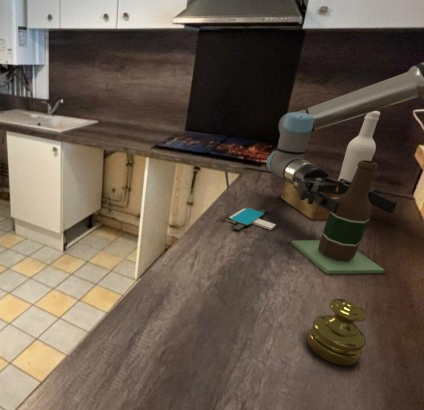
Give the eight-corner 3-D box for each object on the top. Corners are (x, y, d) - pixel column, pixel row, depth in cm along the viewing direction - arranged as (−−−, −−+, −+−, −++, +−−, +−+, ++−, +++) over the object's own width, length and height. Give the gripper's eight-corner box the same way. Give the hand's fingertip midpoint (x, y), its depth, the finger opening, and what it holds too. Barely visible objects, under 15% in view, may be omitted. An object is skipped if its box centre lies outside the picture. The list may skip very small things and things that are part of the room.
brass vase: (346, 374, 57) (368, 326, 53) (298, 345, 63) (315, 299, 59) (364, 354, 61) (385, 307, 57) (317, 328, 67) (334, 283, 63)
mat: (383, 273, 84) (384, 269, 84) (326, 274, 83) (327, 270, 83) (340, 243, 97) (341, 240, 96) (291, 243, 96) (292, 240, 95)
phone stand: (258, 239, 97) (260, 234, 97) (218, 224, 105) (219, 219, 104) (285, 218, 110) (287, 213, 109) (247, 206, 118) (248, 201, 117)
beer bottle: (352, 251, 91) (387, 160, 81) (355, 266, 85) (393, 169, 75) (317, 243, 94) (346, 155, 85) (317, 256, 88) (349, 163, 78)
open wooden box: (364, 219, 111) (372, 198, 108) (311, 219, 110) (318, 198, 107) (326, 198, 127) (333, 179, 124) (280, 198, 126) (286, 179, 123)
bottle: (336, 198, 127) (365, 112, 115) (328, 190, 134) (354, 108, 122) (362, 201, 125) (394, 114, 113) (352, 192, 132) (381, 110, 120)
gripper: (344, 189, 102) (410, 222, 83) (260, 189, 101) (307, 223, 81) (353, 164, 99) (423, 192, 80) (266, 163, 98) (317, 192, 78)
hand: (365, 208), depth 81 cm, fingers open, 13 cm apart
